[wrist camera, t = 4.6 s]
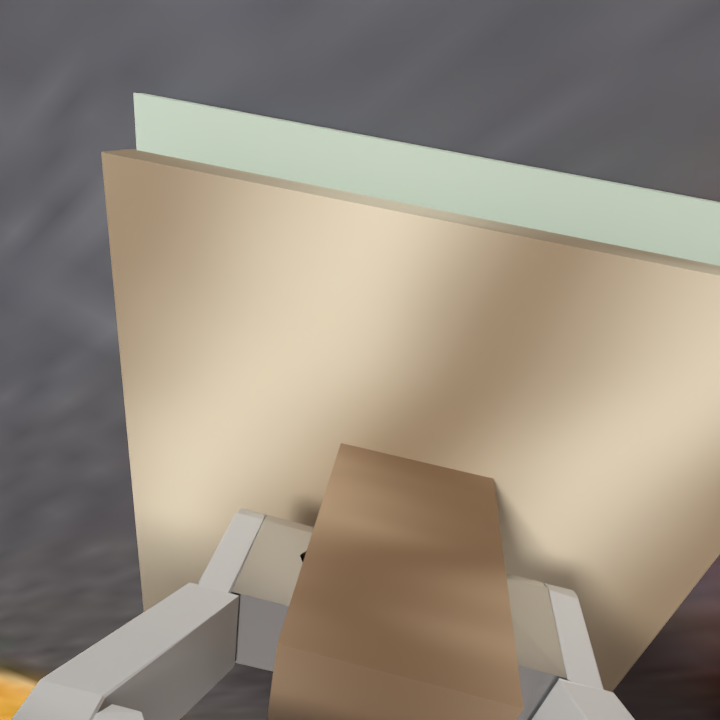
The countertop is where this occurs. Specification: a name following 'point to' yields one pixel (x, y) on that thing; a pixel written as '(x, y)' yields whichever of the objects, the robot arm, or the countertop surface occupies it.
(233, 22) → the countertop surface
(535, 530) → the cover
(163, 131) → the mat
